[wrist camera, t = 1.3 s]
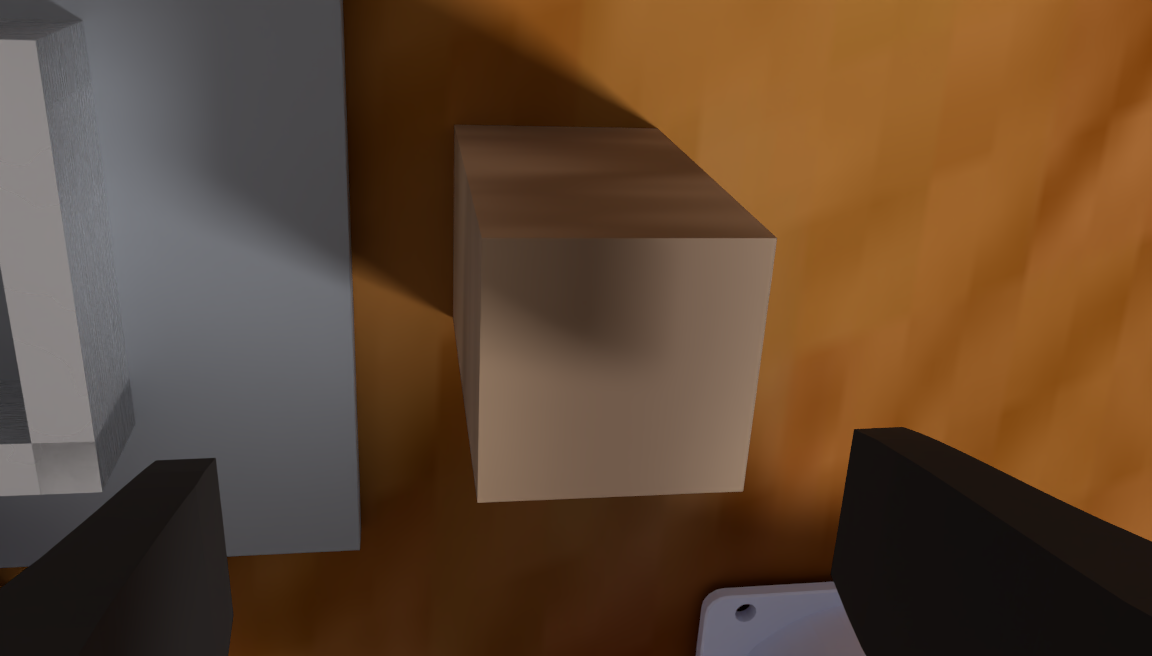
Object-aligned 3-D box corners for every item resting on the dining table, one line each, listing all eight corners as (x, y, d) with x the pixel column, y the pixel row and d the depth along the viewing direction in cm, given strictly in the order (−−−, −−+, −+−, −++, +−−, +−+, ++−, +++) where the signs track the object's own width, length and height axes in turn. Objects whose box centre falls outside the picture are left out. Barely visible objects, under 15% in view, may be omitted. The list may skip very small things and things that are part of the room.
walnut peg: (657, 128, 20) (776, 238, 14) (642, 315, 22) (743, 491, 15) (454, 124, 20) (482, 238, 13) (452, 317, 21) (476, 502, 15)
